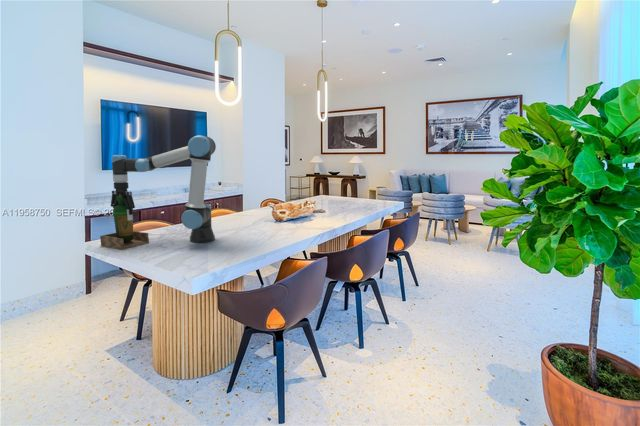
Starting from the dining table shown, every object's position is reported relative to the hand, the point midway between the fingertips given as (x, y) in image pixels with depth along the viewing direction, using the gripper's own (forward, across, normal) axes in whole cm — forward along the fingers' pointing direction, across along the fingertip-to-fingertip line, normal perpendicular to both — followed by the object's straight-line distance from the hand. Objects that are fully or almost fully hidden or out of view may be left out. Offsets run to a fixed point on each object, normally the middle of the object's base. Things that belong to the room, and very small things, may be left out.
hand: (123, 219), depth 215 cm
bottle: (+13, 0, 0) cm, 13 cm away
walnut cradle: (+15, 0, 0) cm, 15 cm away
